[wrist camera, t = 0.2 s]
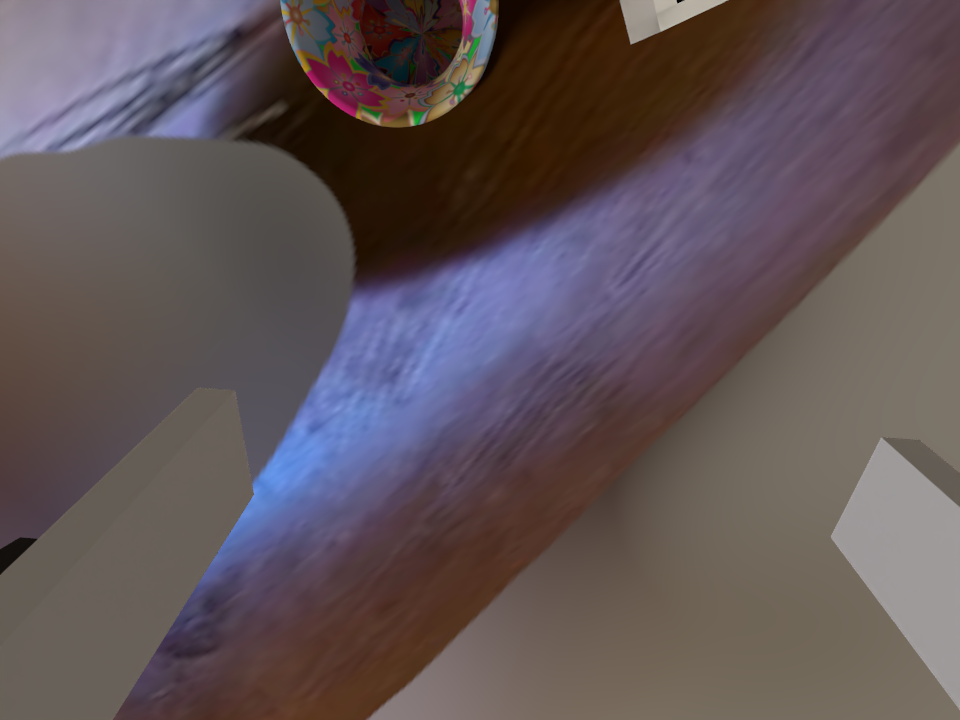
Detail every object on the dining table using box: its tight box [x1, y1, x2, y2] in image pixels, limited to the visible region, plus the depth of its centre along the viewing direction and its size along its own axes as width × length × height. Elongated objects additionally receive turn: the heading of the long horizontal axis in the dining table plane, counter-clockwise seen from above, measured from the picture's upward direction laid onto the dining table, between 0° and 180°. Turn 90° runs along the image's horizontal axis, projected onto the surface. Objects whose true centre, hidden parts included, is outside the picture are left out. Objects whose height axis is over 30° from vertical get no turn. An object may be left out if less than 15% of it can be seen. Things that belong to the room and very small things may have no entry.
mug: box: [280, 0, 499, 127], centre depth 26 cm, size 12×9×11 cm
